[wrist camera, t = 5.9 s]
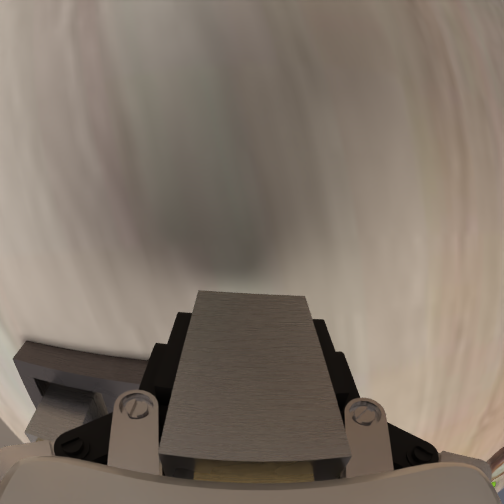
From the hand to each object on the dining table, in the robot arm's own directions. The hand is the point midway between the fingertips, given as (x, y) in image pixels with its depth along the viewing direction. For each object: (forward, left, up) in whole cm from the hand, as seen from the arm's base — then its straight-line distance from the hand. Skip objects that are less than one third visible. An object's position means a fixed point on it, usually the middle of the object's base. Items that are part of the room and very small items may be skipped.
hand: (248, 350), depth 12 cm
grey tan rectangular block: (+11, -12, -7) cm, 18 cm away
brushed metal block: (0, 0, -1) cm, 1 cm away
